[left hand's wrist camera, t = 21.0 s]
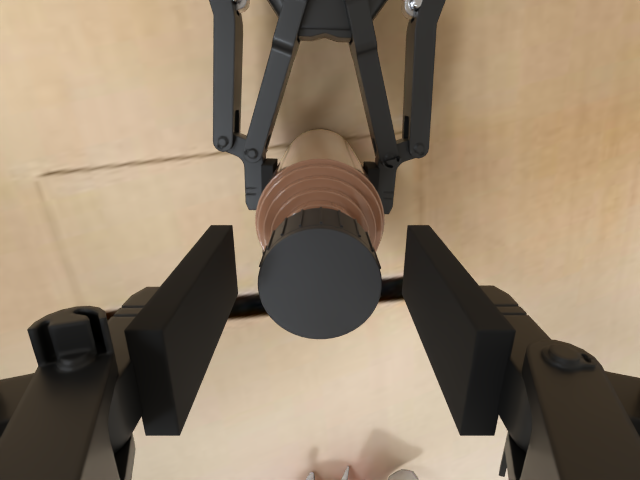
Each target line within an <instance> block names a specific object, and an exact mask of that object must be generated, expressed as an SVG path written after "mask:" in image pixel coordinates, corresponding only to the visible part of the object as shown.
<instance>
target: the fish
mask: <svg viewBox="0 0 640 480" xmlns="http://www.w3.org/2000/svg"><path fill="white" fill-rule="evenodd" d="M348 472H349V466H347V469H346V471H345V473H344V475H343V477H342V479H341V480H348ZM306 480H315V478H314V473H313V472H310V474H309V475H308V477H307V479H306ZM388 480H418V477H417V476H416V475H415V473H414V472H413V471H410V470H404V469H401V470H399V471H397V472H395V473H394V474H392V475H391V476H389V478H388Z"/></svg>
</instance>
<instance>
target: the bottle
mask: <svg viewBox="0 0 640 480" xmlns="http://www.w3.org/2000/svg"><path fill="white" fill-rule="evenodd" d="M320 207H322V208H328V209H333V210H337V211H338V210H341V212H342V213H345V214H346V215H348V216H350V217H351V218H353V219H356V220H357V222H358V223H359V224H360V225H361V226H362V228H363V229H364V230H365V232H368V234H369V237H370V240H371V243H372V246H373V247H374V249H375V252H376V251H377V248H378V246H379V243H380V241H381V238H382V234H383V230H384V210H383V206H382V202H381V199H380V197H379V195H378V192H377V191H376V189H375V187H374V185H373V184H372V182H371V180H370V179H369V177H368V175H367V173H366V172H365V170H364V168H363V167H362V165H361V163H360V161H359V160H358V158H357V156H356V154H355V153H354V151H353V149H352V148H351V146H350V144H349V143H348V142H347V141H346V140H345V139H344V138H343V137H342V136H340V135H339V134H337V133H335V132H333V131H330V130H325V129H314V130H310V131H307V132H305V133H303V134H301V135H300V136H298V137H297V138H296V139H295V140H294V141H293V142H292V143H291V144H290V146H289V147H288V149H287V151H286V153H285V154H284V156H283V158H282V159H281V161H280V163H279V165H278V166H277V168H276V170H275V171H274V173H273V175H272V177H271V178H270V180H269V182H268V183H267V185H266V187H265V189H264V190H263V192H262V194H261V196H260V199H259V201H258V205H257V209H256V223H255V224H256V231H257V235H258V239H259V241H260V244H261V246H262V249H263V251H265V248H266V245H267V246H268V243H269V240H270V237H271V234H272V232H273V230H276V229H277V227H278V226H279V225H280V224H281V223H282V222H283V221H284V219H285V218H286V217H287V218H288V217H290V216H292V215H293V214H295V213H298V212H300V211H301V210H302V209H303V210H307V209H312V208H320Z"/></svg>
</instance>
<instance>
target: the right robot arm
mask: <svg viewBox="0 0 640 480" xmlns="http://www.w3.org/2000/svg"><path fill="white" fill-rule="evenodd" d="M209 1H210V5H211V8H212V11H213V14H214V53H213V143H214V146H215V148H216V149H218V150H219V151H222V152H228V153H231V154H233V155H236V156H238V157H239V158H240V159H241V160H242V161H243V163H244V167H245V193H246V195H245V196H246V204H247V207H248V209H249V210H256V209H257V205H258V201H259V199H260V196H261V194H262V192H263V190H264V189H265V187H266V185H267V183H268V182H269V180H270V178H271V177H272V175H273V173H274V171H275V170H276V168H277V159H269V158H266V152H267V151H268V150H267V148H268V145H269V141H270V138H271V135H272V131H273V128H274V125H275V121H276V118H277V115H278V111H279V108H280V105H281V102H282V98H283V95H284V92H285V88H286V85H287V82H288V78H289V75H290V72H291V68H292V65H293V62H294V59H295V56H296V54H297V51H298V47H299V44H300V41H314V40H317V39H321V38H327V39H330V40H333V41H336V42H349V47H350V51H351V55H352V58H353V61H354V65H355V69H356V74H357V78H358V83H359V87H360V91H361V96H362V100H363V104H364V109H365V113H366V118H367V122H368V126H369V131H370V135H371V139H372V144H373V148H374V153H375V156H376V158H375V162H364V164H363V168H364V170H365V172H366V173H367V175H368V177H369V179H370V180H371V182H372V184H373V185H374V187H375V189H376V191H377V192H378V195H379V197H380V199H381V202H382V206H383V210H384V214H389V213H390V211H391V209H392V206H393V197H394V187H395V177H396V170H397V168H398V166H399V165H400V164H401V163H402V162H404V161H407V160H410V159H413V158H422V157H424V156H425V155H426V154H427V152H428V149H429V138H430V122H431V106H432V90H433V74H434V58H435V42H436V26H437V21H438V19H439V16H440V13H441V11H442V8H443V6H444V3H445V0H402V13H403V15H404V16H405V17H406V18H407V19H409V22H408V27H407V34H406V51H405V77H404V103H403V129H402V139H400V140H397V141H396V139H395V134H394V130H393V125H392V120H391V115H390V110H389V106H388V101H387V96H386V91H385V86H384V81H383V77H382V72H381V67H380V62H379V57H378V52H377V41H376V36H375V31H374V26H373V20H374V18H375V17H376V16H377V14H378V13H379V12H380V10H381V9H382V7H383V6H384V5H385V3H386V2H387V1H388V0H267V1H268V2H269V4H270V5H271V7H272V9H273V10H274V12H275V13H276V15H277V16H278V18H279V19H278V22H277V26H276V30H275V33H274V37H273V42H272V48H271V52H270V56H269V59H268V63H267V66H266V70H265V74H264V77H263V81H262V84H261V88H260V91H259V95H258V99H257V102H256V106H255V109H254V113H253V116H252V120H251V124H250V127H249V131H248V134H247V136H246V135H244V134H241V133H240V123H241V88H242V52H243V23H242V16H241V13H243V12H245V11H246V10H247V9H248V7H249V4H250V0H209ZM263 254H264V251H263Z"/></svg>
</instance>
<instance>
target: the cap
mask: <svg viewBox="0 0 640 480" xmlns="http://www.w3.org/2000/svg"><path fill="white" fill-rule="evenodd" d="M259 267H260V271H259V276H258V291H259V296H260V299H261V302H262V305H263V306H264V308H265V310H266V312H267V313H268V314H269V316H270V317H271V318H272V319H273V320H274V321H275V322H276V323H277V324H278V325H279V326H281V327H282V328H284V329H285V330H287V331H289V332H291V333H293V334H295V335H298V336H301V337H305V338H311V339H329V338H335V337H339V336H342V335H345V334H347V333H349V332H351V331H353V330H355V329H356V328H358V327H359V326H360V325H362V324H363V323H364V322H365V321H366V320H367V319H368V318H369V317H370V316H371V314H372V313H373V311H374V310H375V308H376V306H377V304H378V301H379V298H380V295H381V290H382V279H381V272H380V269H381V266H380V263H379V261H378V258H377V255H376V252H375V249H374V247H373V246H372V243H371V240H370V237H369V234H368V232H365V230H364V229H363V228H362V226H361V225H360V224H359V223H358V222H357V220H356V219H353V218H351V217H350V216H348V215H346V214H345V213H342V212H341V210H338V211H337V210H333V209H328V208H322V207H320V208H312V209H307V210H303V209H302V210H301V211H300V212H298V213H295V214H293V215H292V216H290V217H288V218H287V217H286V218H285V219H284V221H283V222H282V223H281V224H280V225H279V226H278V227H277V229H276V230H273V232H272V234H271V237H270V240H269V243H268V246H267V245H266V248H265V251H264V254H263V256H262V259H261V262H260V265H259Z"/></svg>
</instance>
